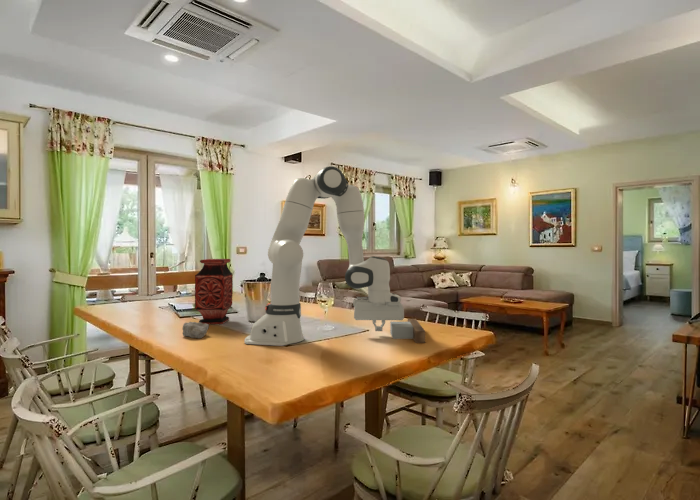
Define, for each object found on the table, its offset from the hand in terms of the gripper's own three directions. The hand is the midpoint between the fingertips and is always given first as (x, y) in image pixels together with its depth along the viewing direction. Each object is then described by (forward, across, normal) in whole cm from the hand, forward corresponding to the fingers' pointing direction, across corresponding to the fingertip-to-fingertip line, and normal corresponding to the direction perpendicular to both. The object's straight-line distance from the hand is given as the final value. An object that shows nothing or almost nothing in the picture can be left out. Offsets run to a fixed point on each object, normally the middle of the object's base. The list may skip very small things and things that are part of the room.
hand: (378, 331), depth 162 cm
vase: (+3, -77, +28) cm, 82 cm away
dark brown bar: (+2, +15, 0) cm, 15 cm away
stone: (+3, -74, -1) cm, 74 cm away
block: (+2, +9, 0) cm, 9 cm away
